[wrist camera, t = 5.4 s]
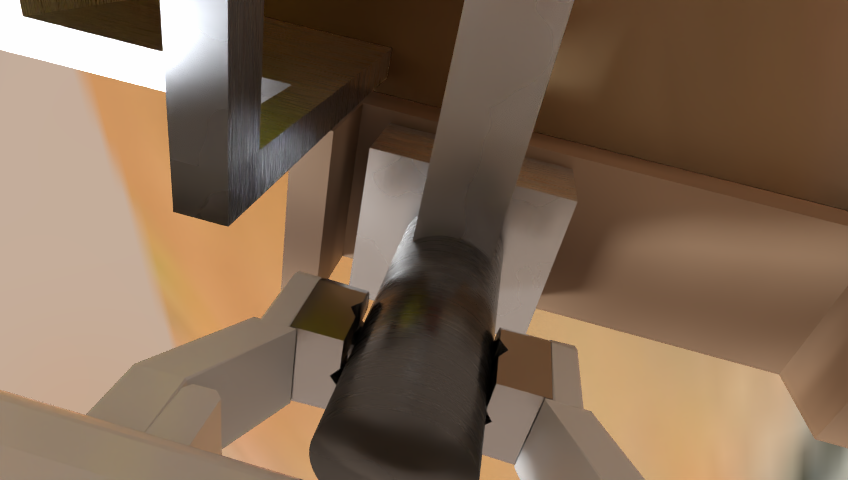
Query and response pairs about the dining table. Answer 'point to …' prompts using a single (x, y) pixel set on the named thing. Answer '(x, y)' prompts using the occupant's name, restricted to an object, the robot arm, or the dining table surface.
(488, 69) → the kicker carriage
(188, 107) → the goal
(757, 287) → the track
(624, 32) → the dining table surface
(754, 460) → the dining table surface
